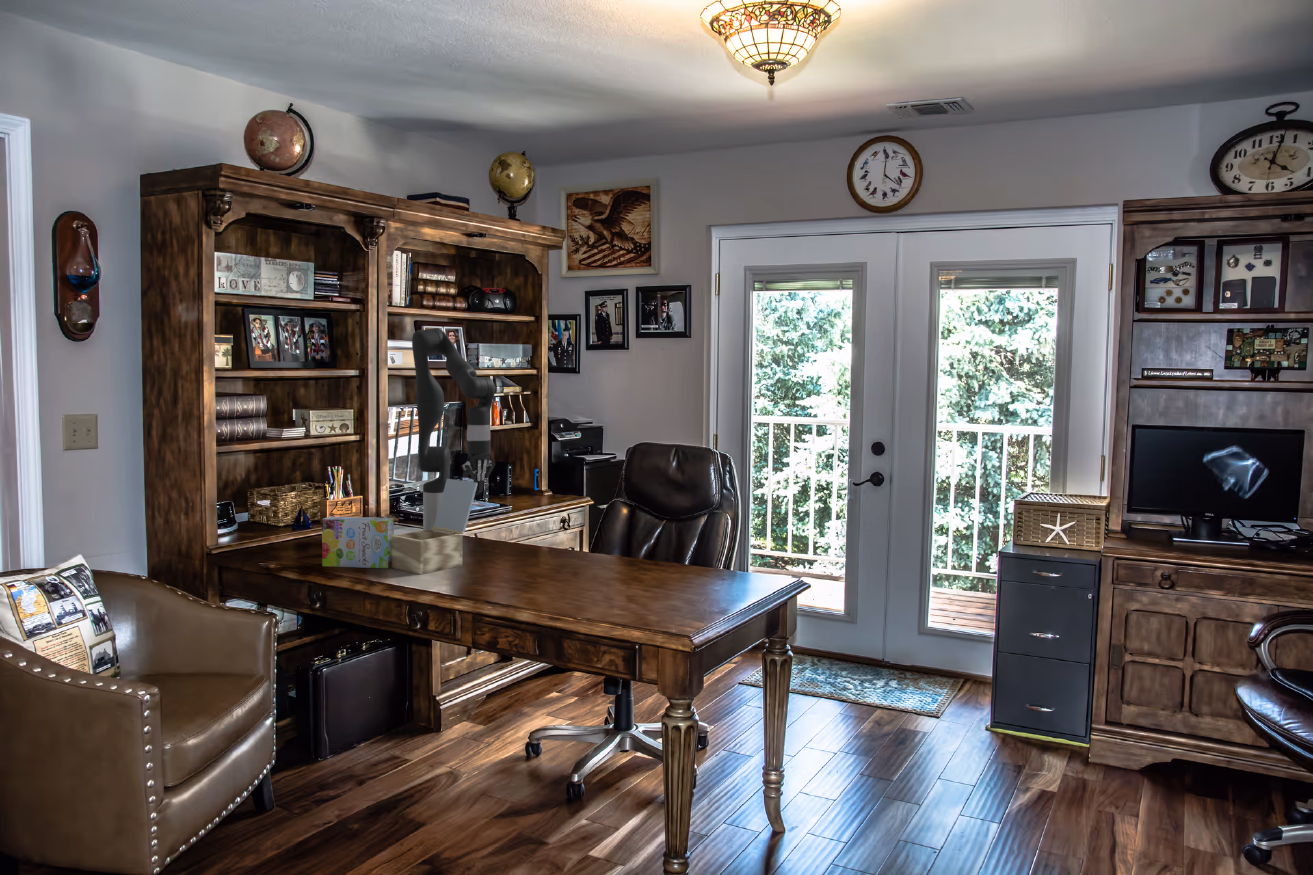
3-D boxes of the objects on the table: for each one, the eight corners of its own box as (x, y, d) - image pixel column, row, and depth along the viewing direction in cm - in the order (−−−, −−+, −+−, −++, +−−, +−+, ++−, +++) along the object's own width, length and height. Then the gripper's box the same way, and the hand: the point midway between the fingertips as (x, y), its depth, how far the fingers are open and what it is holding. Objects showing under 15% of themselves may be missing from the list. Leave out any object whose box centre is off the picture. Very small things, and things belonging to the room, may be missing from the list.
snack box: (394, 565, 291) (394, 517, 290) (387, 569, 286) (387, 520, 284) (329, 563, 293) (328, 515, 292) (321, 566, 288) (320, 518, 286)
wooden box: (433, 559, 300) (433, 528, 299) (462, 565, 291) (462, 534, 290) (391, 567, 287) (391, 535, 286) (420, 574, 279) (420, 541, 278)
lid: (431, 528, 299) (434, 529, 299) (460, 534, 290) (463, 535, 291) (445, 478, 302) (448, 479, 303) (475, 482, 293) (477, 483, 294)
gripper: (486, 437, 310) (486, 489, 311) (454, 439, 300) (454, 492, 301) (501, 438, 306) (501, 491, 307) (470, 440, 295) (470, 495, 296)
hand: (478, 492), depth 304 cm, fingers closed
